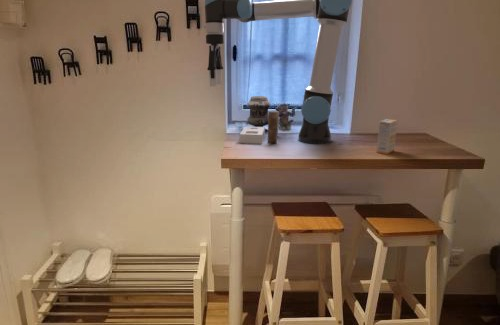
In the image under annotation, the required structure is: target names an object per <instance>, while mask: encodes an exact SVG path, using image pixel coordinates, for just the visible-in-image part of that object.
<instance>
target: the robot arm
mask: <svg viewBox="0 0 500 325" xmlns="http://www.w3.org/2000/svg"><path fill="white" fill-rule="evenodd" d="M352 1H353V0H269V1H268V0H266V1H255V2H252V0H204V16H205V25H204V27H203V28H204V29H205V33H206V35H205V42H206V44H207V45H209V46H208V48H209V50H208V51H209V52H208V53H209V54H208V67H207V69H206V70H207V71H208V72H209V87H217V86H218V85H222V83H223V81H222V80H223V79H222V78H223V76H222V75H223V74H222V70H224V66H223V63H222V61H223V60H222V52H221V50H222V48H221V46H220V45H223V44H224V43H225V42H224V41H225V38H224V33H225V32H224V31H225V29H224V20H234V19H235V20H238V21H239V22H241V23H250V22H256V21H269V20H282V19H299V18H311V17H312V18H313V19H315V20H317V23H319V28H318V34H317V40H316V46H315V52H314V56H313V57H314V58H313V64H312V69H311V76H310V81H309V85H308V86H307V87H305V89H304V95H303V102H302V105H301V108H300V111H301V115H302V125H301V128H300V130H299V133H298V137H297V139H298V141H300V142H301V143H308V144H327V143H330V142H331V141H332V135H331V130H330V127H329V120H330V119H329V118H330V114H331V112H332V111H331V107H332V103H333V102H332V101H333V95H334V92H333V91H332V89H331V88H332V82H333V76H334V70H335V65H336V60H337V54H338V50H339V43H340V38H341V33H342V28H343V27H344V26H345V25H346V24H347V23H348V18H349V12H350V8H351V4H352Z"/></svg>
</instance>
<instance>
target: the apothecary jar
mask: <svg viewBox="0 0 500 325" xmlns="http://www.w3.org/2000/svg"><path fill="white" fill-rule="evenodd" d="M247 106H248V108H249V116H248V118H247V123H248V124H249V125H251V126H252V127H266V126H268V112H269V108H270V107H271V102H270V101H269V100H268V96H264V95H254V96H253V95H252V96H250V100H249V101H248V102H247ZM265 133H268V128H265Z"/></svg>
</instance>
